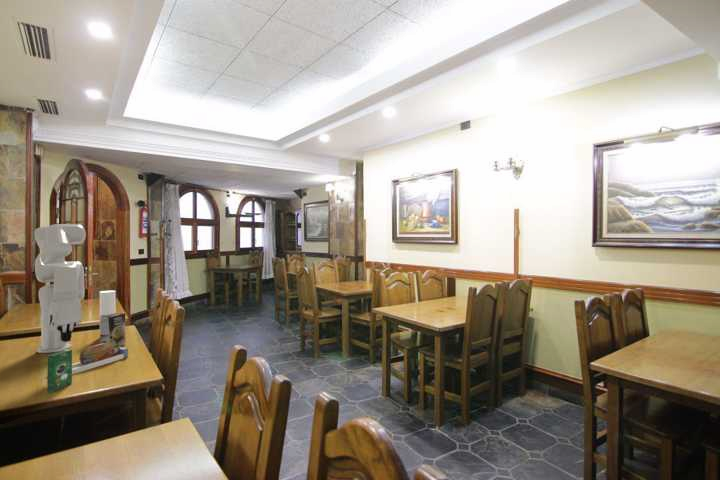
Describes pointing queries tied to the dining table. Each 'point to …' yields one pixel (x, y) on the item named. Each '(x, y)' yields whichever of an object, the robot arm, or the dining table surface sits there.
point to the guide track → (99, 362)
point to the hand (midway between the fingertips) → (66, 340)
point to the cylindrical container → (107, 303)
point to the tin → (99, 352)
